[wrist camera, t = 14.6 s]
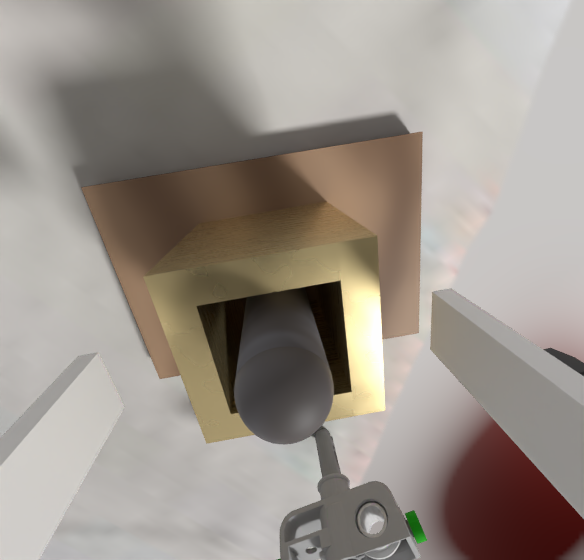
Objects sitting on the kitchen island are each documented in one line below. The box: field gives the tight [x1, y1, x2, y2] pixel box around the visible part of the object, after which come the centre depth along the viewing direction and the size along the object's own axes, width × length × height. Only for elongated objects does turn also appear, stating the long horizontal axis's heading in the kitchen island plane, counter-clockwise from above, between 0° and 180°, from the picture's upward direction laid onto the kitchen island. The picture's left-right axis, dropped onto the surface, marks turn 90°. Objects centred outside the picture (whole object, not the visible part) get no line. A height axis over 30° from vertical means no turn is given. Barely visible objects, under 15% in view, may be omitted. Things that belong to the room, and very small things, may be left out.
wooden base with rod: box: [81, 132, 422, 444], centre depth 15 cm, size 20×14×14 cm
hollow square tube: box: [143, 201, 385, 443], centre depth 16 cm, size 8×8×9 cm
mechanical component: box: [278, 429, 427, 560], centre depth 23 cm, size 3×10×10 cm, turn 114°
